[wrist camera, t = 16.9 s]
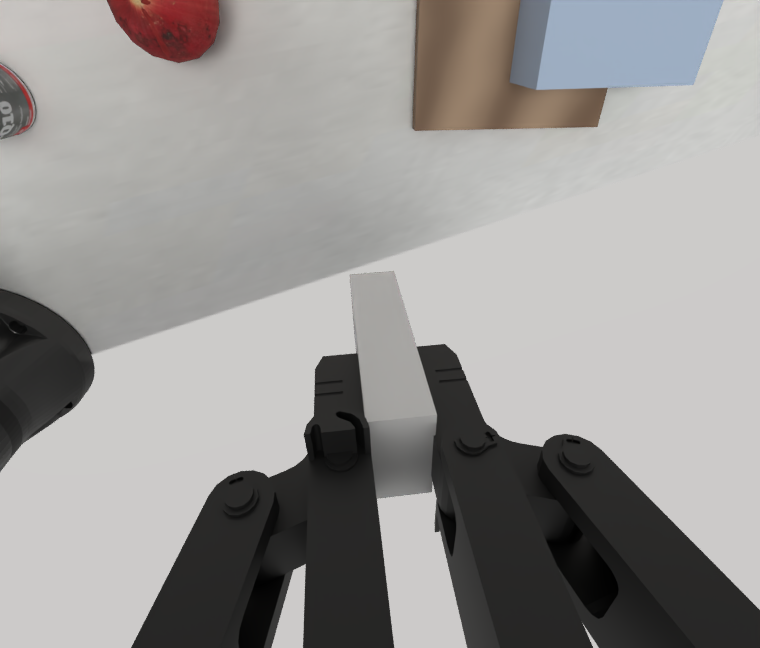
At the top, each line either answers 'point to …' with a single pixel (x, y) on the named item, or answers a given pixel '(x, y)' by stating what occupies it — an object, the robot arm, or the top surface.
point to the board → (484, 73)
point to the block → (611, 42)
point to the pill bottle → (14, 105)
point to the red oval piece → (169, 26)
